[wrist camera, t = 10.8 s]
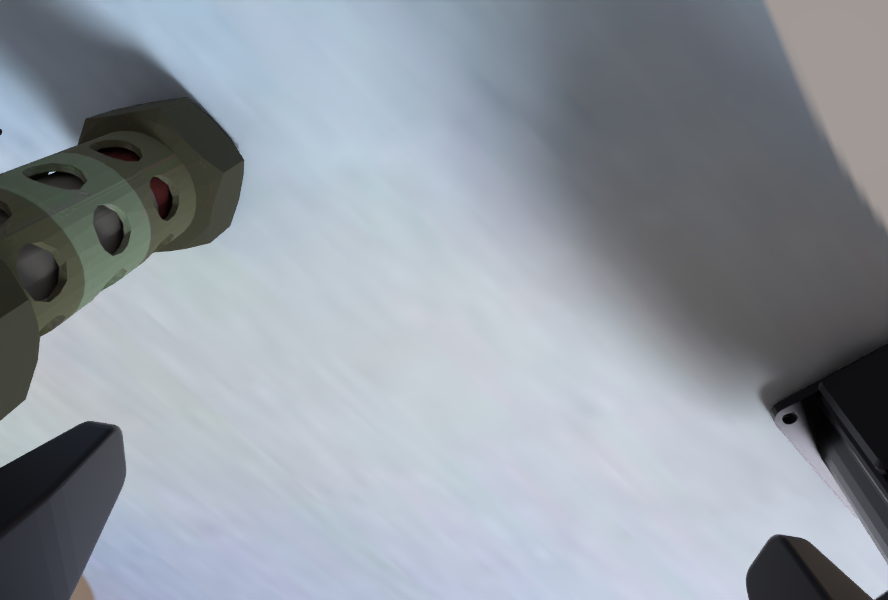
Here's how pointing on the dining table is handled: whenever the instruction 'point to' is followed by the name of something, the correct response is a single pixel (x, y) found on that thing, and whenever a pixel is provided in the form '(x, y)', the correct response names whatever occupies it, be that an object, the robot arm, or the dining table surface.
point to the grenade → (104, 218)
